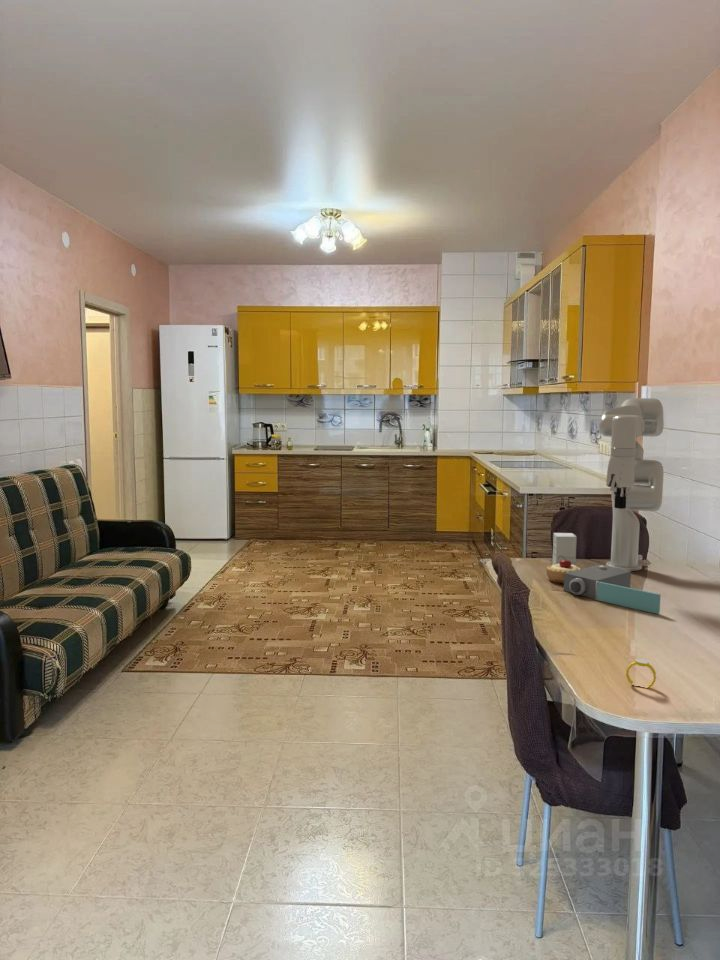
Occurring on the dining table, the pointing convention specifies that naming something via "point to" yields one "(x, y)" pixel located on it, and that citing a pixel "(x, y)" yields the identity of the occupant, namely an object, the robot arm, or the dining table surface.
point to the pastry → (560, 570)
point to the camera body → (594, 579)
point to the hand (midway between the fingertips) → (620, 508)
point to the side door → (628, 597)
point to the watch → (641, 663)
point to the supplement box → (564, 547)
